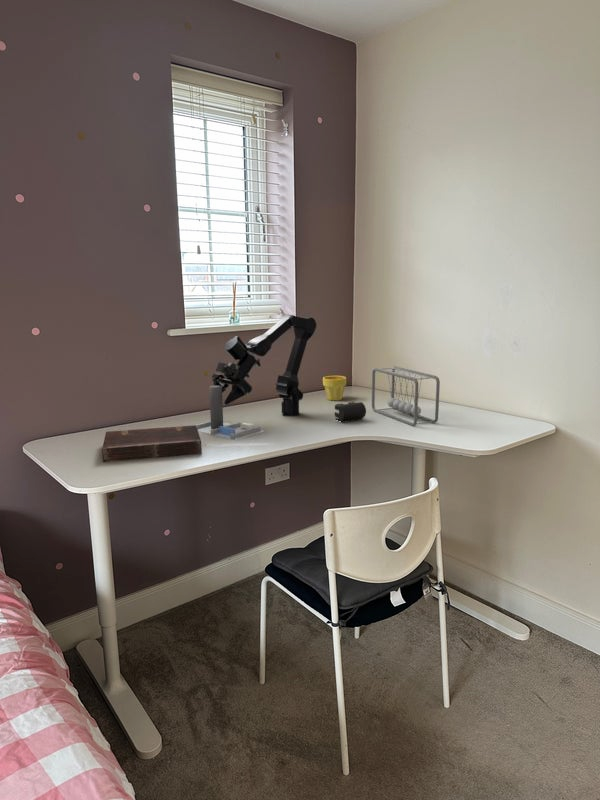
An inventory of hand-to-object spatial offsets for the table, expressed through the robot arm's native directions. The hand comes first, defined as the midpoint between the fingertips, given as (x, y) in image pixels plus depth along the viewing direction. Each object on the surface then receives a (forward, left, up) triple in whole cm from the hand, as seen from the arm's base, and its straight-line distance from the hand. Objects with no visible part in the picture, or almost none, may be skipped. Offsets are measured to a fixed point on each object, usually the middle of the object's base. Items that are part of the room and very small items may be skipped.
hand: (218, 401), depth 203 cm
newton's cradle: (-70, -14, -10) cm, 72 cm away
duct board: (-3, +4, -10) cm, 11 cm away
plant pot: (-46, -48, -10) cm, 68 cm away
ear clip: (-10, +2, -10) cm, 14 cm away
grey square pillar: (+1, +1, -9) cm, 9 cm away
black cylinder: (-48, -9, -10) cm, 50 cm away
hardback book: (+19, +24, -11) cm, 32 cm away
